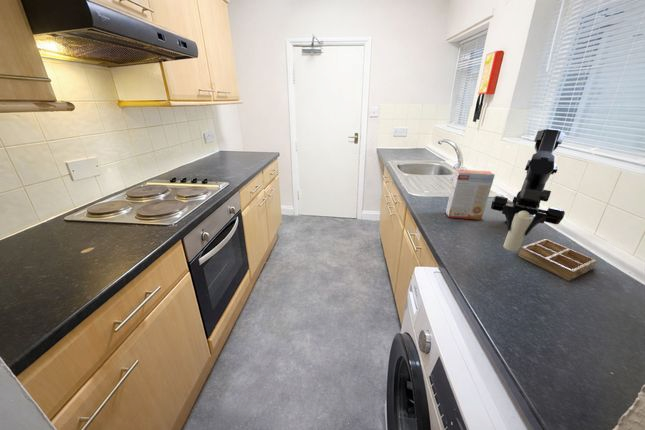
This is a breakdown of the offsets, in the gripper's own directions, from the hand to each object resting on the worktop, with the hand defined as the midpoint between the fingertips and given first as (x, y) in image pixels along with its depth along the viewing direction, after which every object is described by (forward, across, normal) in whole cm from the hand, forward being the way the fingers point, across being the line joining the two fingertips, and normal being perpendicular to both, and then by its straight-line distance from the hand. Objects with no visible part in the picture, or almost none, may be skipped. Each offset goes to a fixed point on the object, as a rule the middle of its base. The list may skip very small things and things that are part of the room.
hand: (517, 232), depth 84 cm
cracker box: (-12, -20, +27) cm, 36 cm away
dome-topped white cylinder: (+4, 0, +6) cm, 7 cm away
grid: (+1, +13, +14) cm, 19 cm away
